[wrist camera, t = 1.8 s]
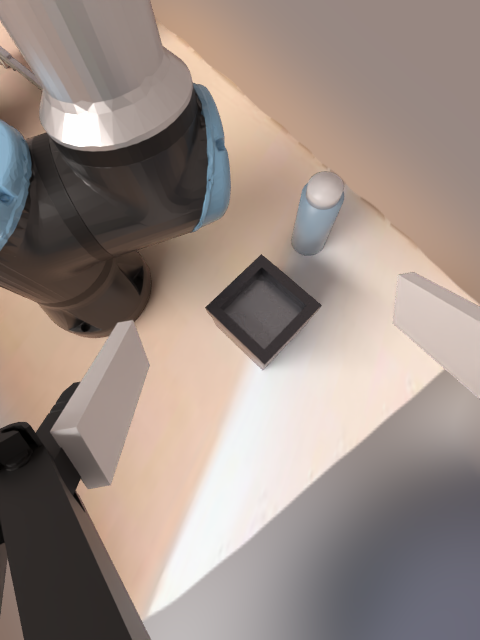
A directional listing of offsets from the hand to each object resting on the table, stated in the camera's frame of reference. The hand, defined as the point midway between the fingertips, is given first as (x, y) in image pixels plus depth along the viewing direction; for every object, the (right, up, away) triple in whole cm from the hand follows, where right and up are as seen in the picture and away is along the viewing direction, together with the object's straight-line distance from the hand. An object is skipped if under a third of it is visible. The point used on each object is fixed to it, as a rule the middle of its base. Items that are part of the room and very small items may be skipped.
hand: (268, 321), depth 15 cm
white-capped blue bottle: (+9, +12, +30) cm, 33 cm away
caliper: (-41, +46, +42) cm, 75 cm away
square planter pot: (+2, -1, +26) cm, 26 cm away
